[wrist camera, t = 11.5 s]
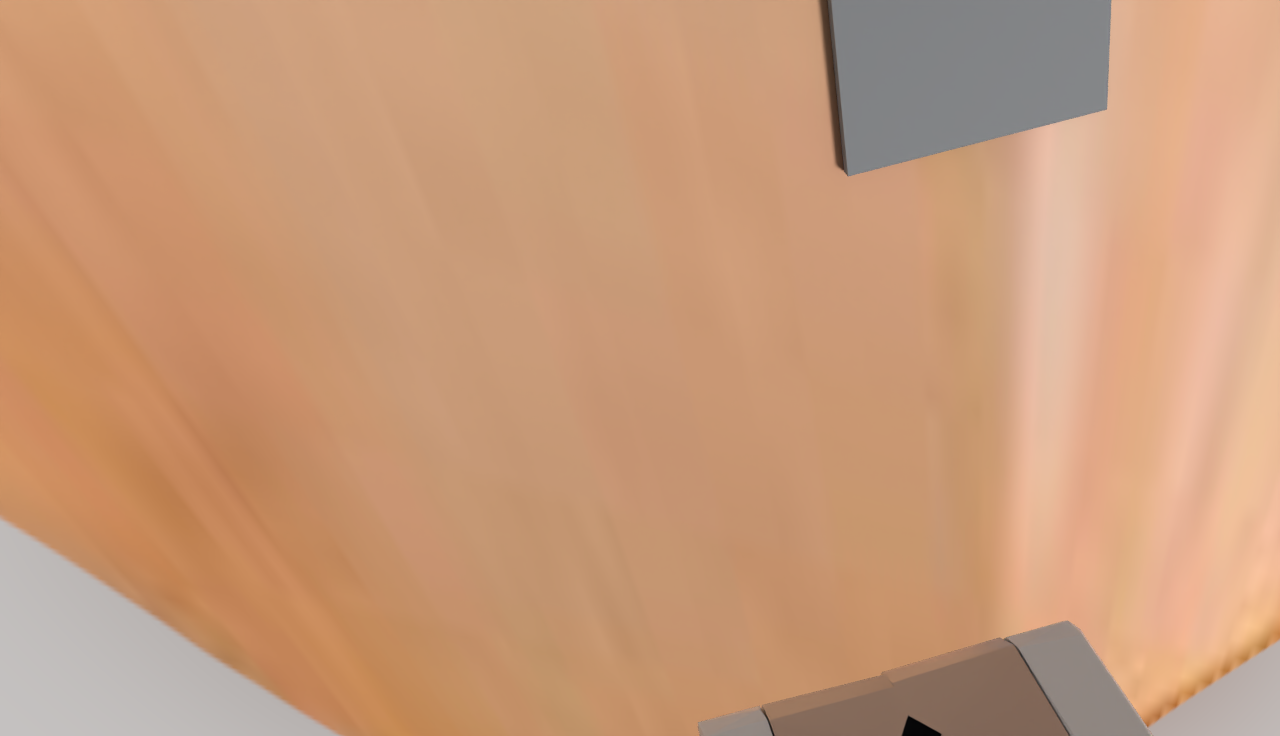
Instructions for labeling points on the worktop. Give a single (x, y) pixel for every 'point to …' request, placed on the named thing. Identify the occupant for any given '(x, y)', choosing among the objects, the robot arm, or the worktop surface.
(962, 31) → the mat
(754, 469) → the worktop surface
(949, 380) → the worktop surface
